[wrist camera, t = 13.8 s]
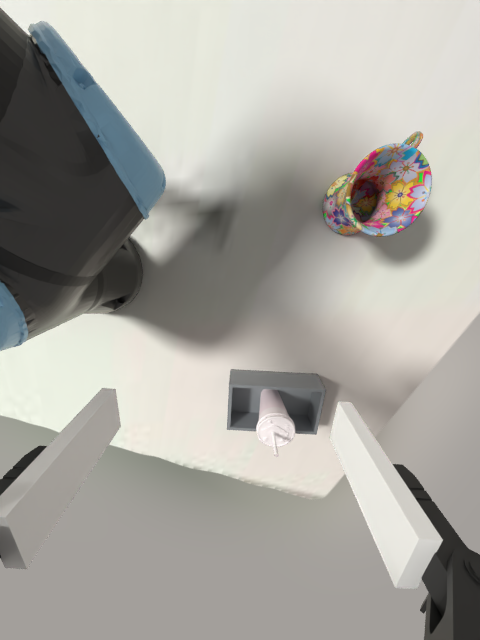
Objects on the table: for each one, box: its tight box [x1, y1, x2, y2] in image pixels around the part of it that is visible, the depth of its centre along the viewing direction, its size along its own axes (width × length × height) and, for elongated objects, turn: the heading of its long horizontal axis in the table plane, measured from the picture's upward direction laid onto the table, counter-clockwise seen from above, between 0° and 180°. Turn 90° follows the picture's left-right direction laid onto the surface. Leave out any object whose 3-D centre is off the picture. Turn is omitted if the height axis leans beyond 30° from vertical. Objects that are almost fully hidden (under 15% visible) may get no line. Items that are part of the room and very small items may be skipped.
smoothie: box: [256, 389, 295, 457], centre depth 40 cm, size 6×6×14 cm
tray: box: [227, 369, 326, 434], centre depth 45 cm, size 17×10×5 cm, turn 87°
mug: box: [323, 131, 432, 237], centre depth 30 cm, size 12×9×11 cm
